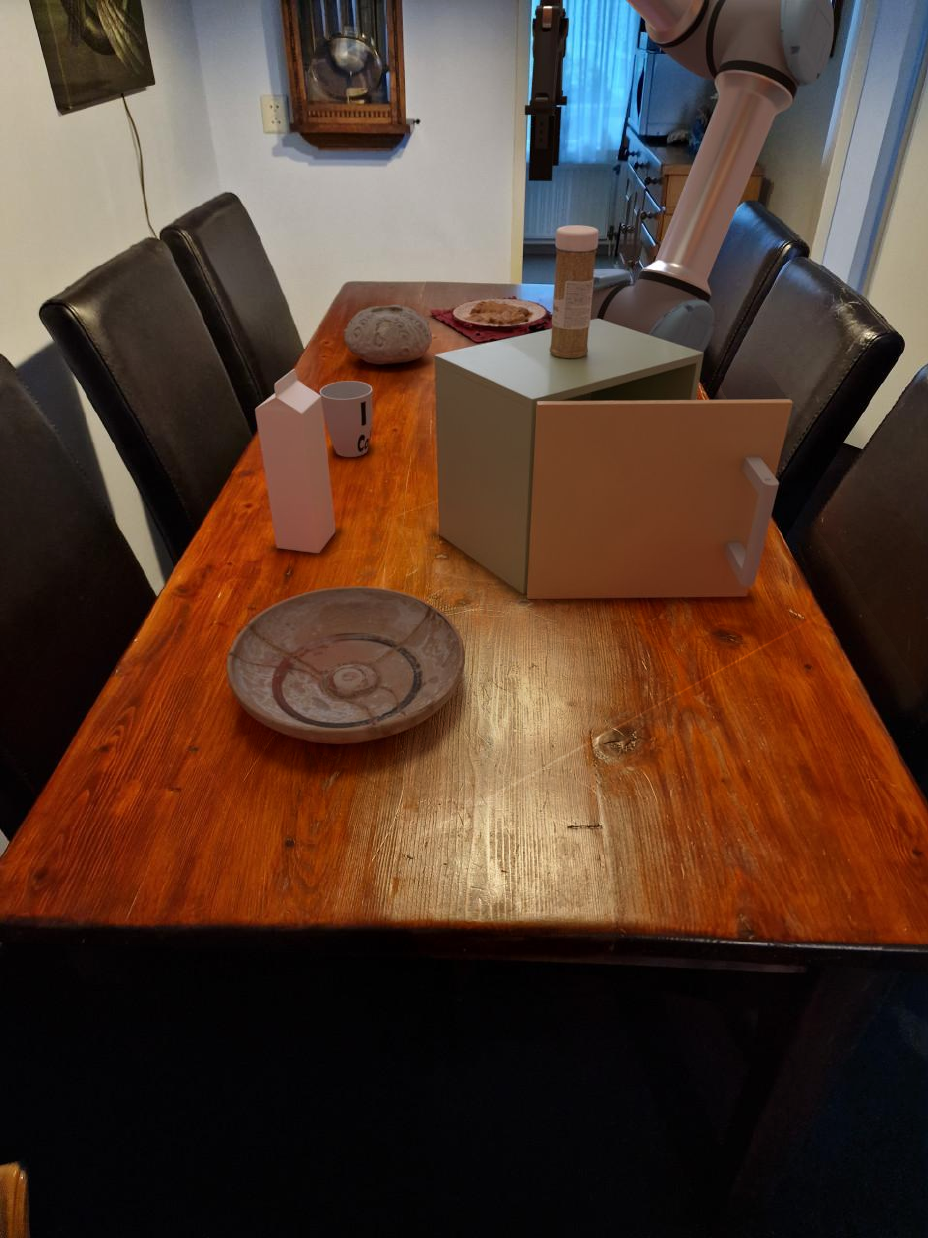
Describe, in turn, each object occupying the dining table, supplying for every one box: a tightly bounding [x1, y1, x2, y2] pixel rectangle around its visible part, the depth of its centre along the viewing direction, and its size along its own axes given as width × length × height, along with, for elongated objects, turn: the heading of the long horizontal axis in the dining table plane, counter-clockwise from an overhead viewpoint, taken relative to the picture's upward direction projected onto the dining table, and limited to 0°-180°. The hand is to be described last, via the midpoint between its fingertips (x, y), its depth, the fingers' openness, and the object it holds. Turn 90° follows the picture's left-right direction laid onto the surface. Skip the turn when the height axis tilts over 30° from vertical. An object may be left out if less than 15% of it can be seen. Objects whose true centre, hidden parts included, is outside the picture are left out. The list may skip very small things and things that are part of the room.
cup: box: [319, 380, 374, 458], centre depth 129 cm, size 8×8×10 cm
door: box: [526, 398, 794, 600], centre depth 87 cm, size 8×26×24 cm, turn 91°
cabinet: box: [434, 319, 705, 595], centre depth 102 cm, size 18×26×24 cm
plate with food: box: [429, 295, 552, 343], centre depth 191 cm, size 24×26×3 cm
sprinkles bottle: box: [550, 224, 599, 358], centre depth 91 cm, size 5×5×13 cm
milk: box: [254, 368, 336, 554], centre depth 102 cm, size 6×6×22 cm
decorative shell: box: [343, 304, 433, 366], centre depth 166 cm, size 18×18×10 cm
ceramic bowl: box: [226, 585, 466, 744], centre depth 82 cm, size 23×24×5 cm
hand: (544, 172), depth 101 cm, fingers open, 13 cm apart
